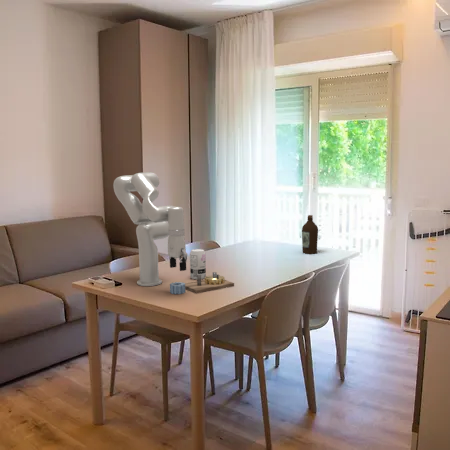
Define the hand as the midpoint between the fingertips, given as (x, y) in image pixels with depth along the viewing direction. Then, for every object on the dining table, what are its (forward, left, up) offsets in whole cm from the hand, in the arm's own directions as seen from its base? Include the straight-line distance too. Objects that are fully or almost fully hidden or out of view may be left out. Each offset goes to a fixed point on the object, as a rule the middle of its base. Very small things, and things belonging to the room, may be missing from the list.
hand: (178, 268), depth 230 cm
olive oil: (-33, +116, -12) cm, 121 cm away
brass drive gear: (-1, +21, -10) cm, 23 cm away
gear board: (-1, +17, -12) cm, 20 cm away
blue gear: (-1, 0, -12) cm, 12 cm away
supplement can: (-19, +22, -12) cm, 31 cm away
